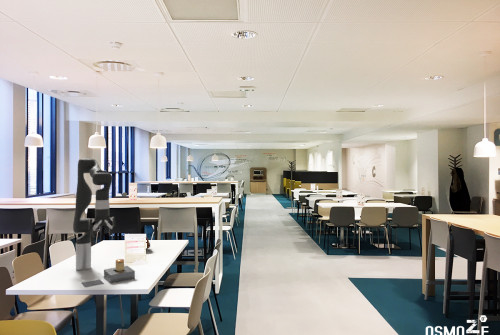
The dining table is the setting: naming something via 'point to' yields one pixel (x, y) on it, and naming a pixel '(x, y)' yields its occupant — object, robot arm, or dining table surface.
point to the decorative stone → (148, 243)
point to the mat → (92, 283)
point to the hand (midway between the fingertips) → (102, 236)
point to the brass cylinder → (119, 265)
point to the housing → (119, 274)
